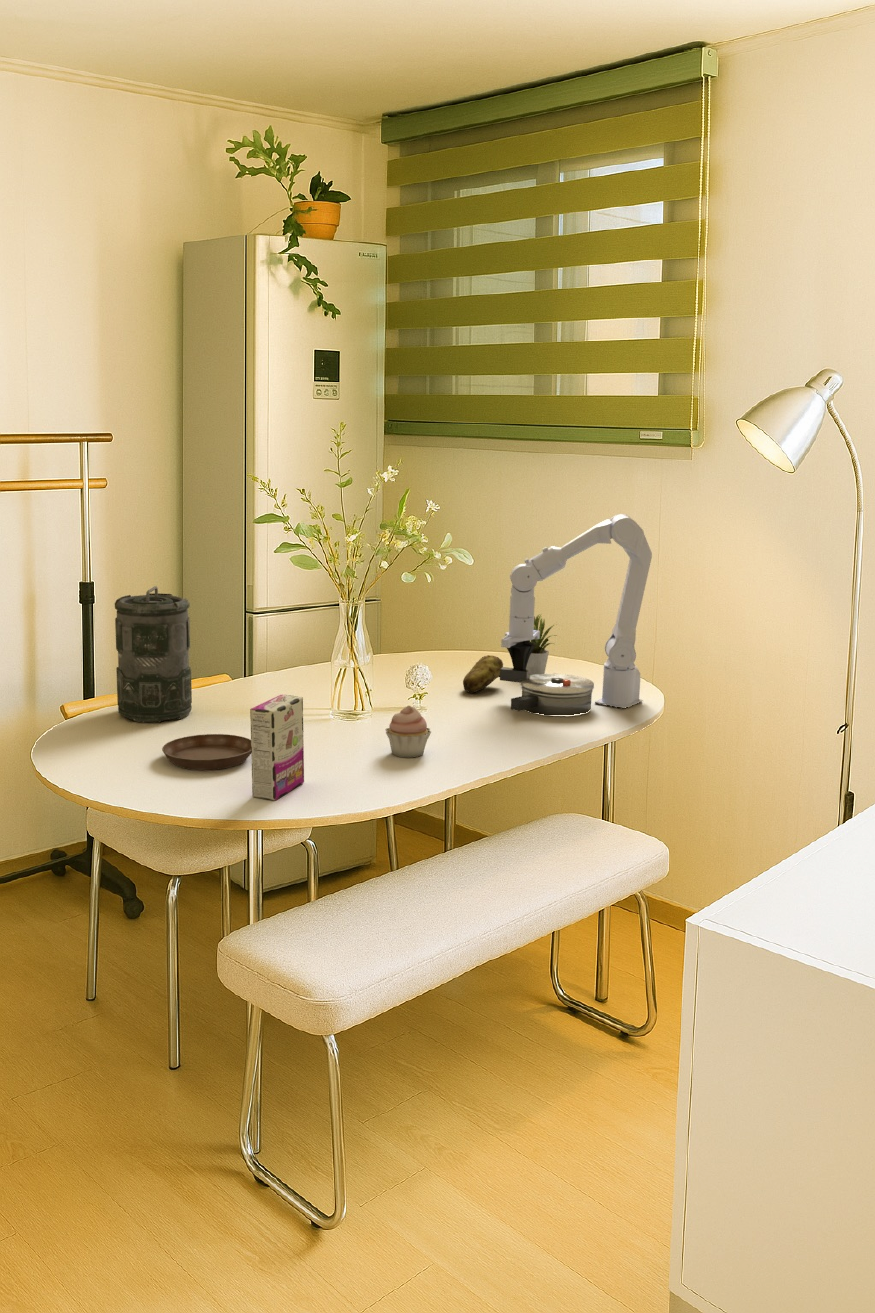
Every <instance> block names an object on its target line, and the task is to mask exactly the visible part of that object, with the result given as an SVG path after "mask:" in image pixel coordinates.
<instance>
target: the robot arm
mask: <svg viewBox="0 0 875 1313" xmlns="http://www.w3.org/2000/svg"><path fill="white" fill-rule="evenodd" d="M611 539H613V541H614V542H615V543H616V544H617V545H618V546H620V547H621V548H622V549H623V550H624V552H625V553H626V554H627V556H628V557H629V560H628V565H627V569H626V575H625V579H624V585H623V587H622V593H621V598H620V603H619V607H618V612H617V616H616V620H615V624H614V627H613V629H612V631H611V635H610V637H609V638H608V639H607V640H606V642H605V644H604V652H605V654H606V656H607V657H608V658H607V659H606V661H605V662H604V663H603V677H602V678H603V679H602V693H601V694H602V696H601V698H600V699H597V700H595V701H594V704H596V703H600V704H599V705H601V704H606V705H605V706H607V705H610V706H609V707H612V706H615V707H614V708H617V707H622V708H625V707H628V708H630V707H632V705H633V706H635V705H638V704H640V703H642V702H644V699H641V698H640V692H641V691H640V690H641V678H642V677H641V672H640V670H639V668H638V667H637V666H636V664H635V661H636V659H637V652H636V648H635V645H636V640H637V639H636V638H637V637H636V635H637V634H636V632H637V626H638V620H639V616H640V611H641V607H642V603H643V598H644V595H645V594H644V593H645V590H646V584H647V580H648V576H649V570H650V567H651V563H652V562H651V561H652V557H653V553H652V550H651V548H650V545H649V543H648V540H647V538H646V534H645V532H644V530H643V528H642V527H641V526H640V524H638V522H636V520H634V519H633V518H631V517H630V516H629V515H627V514H624V513H619V514H616V515H613V516H612V517H611V518H610V519H609V518H607V519H606V520H603V521H601V522H599V523H597V524H595V525H594V526H592V527H591V528H589V529H588V530H586V531H584V532H582V533H581V534H580V535H578V536H576V537H575V538H573V539H572V540H570V541H568V542H567V543H565V544H564V545H562V546H561V547H558V546H553V545H552V546H549V547H547V546H545V547H543V548H541V551H542V552H540V553H538V554H537V555H534V556H532V557H531V558H530V559H529V558H525V559H524V563H519V564H517V565H515V567H513V568H512V570H511V572H510V575H509V578H510V582H511V583H512V585H511V588H510V594H511V595H510V598H509V619H508V620H509V621H508V623H509V624H508V625H509V626H508V632H504V637H503V638H501V639H500V642H501V644H500V647H501V648H505V649H506V650H507V652H508V653H509V656H510V659H511V662H512V668H517V669H526V667H527V663H528V660H529V657H530V655H531V653H532V651H533V649H534V648H535V643H531V642H530V641H531V640H533V639H540V631H538V630H539V629H538V630H534V616H535V606H536V605H535V604H536V598H535V587H536V585H537V582H542V581H544V580H546V579H548V578H549V577H551V576H553V575H555V574H556V573H558V572H560V571H562V570H564V568H566V563H567V560H570V559H571V558H572V557H575V556H576V555H579V554H581V553H582V552H584V551H586V550H588V549H589V548H591V547H593V546H595V545H597V544H604V545H605V544H606V545H607V544H608V545H611V544H612V540H611ZM639 702H640V703H639ZM637 703H638V704H637ZM622 708H621V709H622Z"/></svg>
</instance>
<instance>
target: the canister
mask: <svg viewBox="0 0 875 1313" xmlns="http://www.w3.org/2000/svg"><path fill="white" fill-rule="evenodd" d="M158 589H159V588H158V586H157V585H156V586H152V587H151V588H150V589H148V590H147V591H146V592H145V594H142V595H141V594H140V595H132V596H131V595H130V594H129V595H124V596H121V597H118V599H116V600H115V602H114V609H115V610H116V617H115V619H114V622H115V623H114V624H115V625H114V626H115V649H116V651H117V660H118V661H117V662H118V664H117V666H116V668H115V669H116V670H115V671H116V694H117V695H116V696H117V698H116V699H117V711H118V712H117V713H119V715H121V716H124V717H125V718H127V719H130V720H133V721H134V722H135V723H145V724H147V723H148V724H150V723H151V724H155V723H156V724H157V723H161V721H163V722H164V721H169V720H175V719H176V720H181V719H183V718H185V717H187V716H189V715H190V713H191V712H192V707H193V706H192V703H193V702H192V701H193V699H192V698H193V697H192V693H193V691H192V668H191V667H190V653H189V652H190V651H189V650H190V649H191V632H190V629H191V628H190V626H191V625H190V624H191V623H190V622H191V621H190V617H189V608H190V602H189V600H188V599H187V598H183V597H180V596H176V595H173V594H171V593H159V590H158ZM153 591H154V592H153ZM152 592H153V593H152Z"/></svg>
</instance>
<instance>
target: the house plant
mask: <svg viewBox="0 0 875 1313" xmlns="http://www.w3.org/2000/svg"><path fill="white" fill-rule="evenodd" d="M557 622H558V621H556V623H554V624H552V625H551V626H550V627H548V628H547V629H546V630H545V626H546V620H545V619H543V617H542V614H538V615H536V616H535V615H534V630H538V631H540V639H533V640H530V642H531V643H535V648H534V649H533V651H532V653H531V655H530V657H529V660H528V663H527V667H526V669H527V670H530V675H536V674H546V669H547V663H548V659H549V658H548V657H549V654H550V651H549V650H548V649H546V648H547V646H550V645H551V644H553V645H556V644H555V643H554V642H548V641H550V639H549V638H551V637H554V636H557V637H558V635H557V634H554V635H553V634H552V635H548V633H550V630H551V629H552V628H553V627H554V626H555V625H557V624H558V623H557ZM544 630H545V631H544ZM547 635H548V636H547Z"/></svg>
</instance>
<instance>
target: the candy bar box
mask: <svg viewBox="0 0 875 1313" xmlns="http://www.w3.org/2000/svg"><path fill="white" fill-rule="evenodd" d="M303 700H304V697H303V696H296V695H289V694H288V695H287V694H278V695H277V696H274V697H273V698H271V699H269V700H266V701H264V702H262V703H260V704H258V705H256V706H254V707H252V708H250V712H249V713H250V716H249V718H250V740H251V783H252V784H251V786H252V787H251V788H252V792H251V793H252V797H253V798H255V799H259V800H261V799H262V800H267V801H268V800H269V801H277V800H279V799H280V798H282V797H283V796H285V795H287V794H288V793H290V792H292V791H293V790H295V789H296V788H297V787H299V786H301V785H302V784H304V783H305V762H304V761H305V760H304V759H305V758H304V756H305V754H304V748H305V746H304V744H305V743H304V704H303V703H304V701H303Z"/></svg>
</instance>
